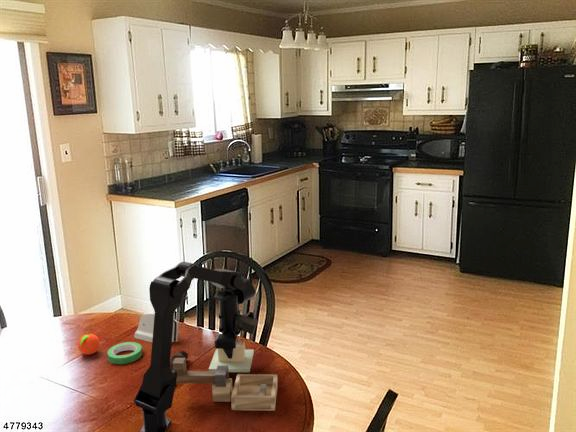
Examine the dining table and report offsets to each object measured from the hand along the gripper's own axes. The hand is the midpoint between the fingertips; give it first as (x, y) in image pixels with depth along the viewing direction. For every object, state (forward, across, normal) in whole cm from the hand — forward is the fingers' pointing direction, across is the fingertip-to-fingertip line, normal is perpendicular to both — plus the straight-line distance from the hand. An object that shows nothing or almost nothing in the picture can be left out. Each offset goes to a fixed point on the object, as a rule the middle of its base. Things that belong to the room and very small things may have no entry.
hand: (231, 355), depth 158 cm
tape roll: (+6, +10, +38) cm, 40 cm away
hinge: (+6, +24, +31) cm, 39 cm away
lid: (+2, 0, 0) cm, 2 cm away
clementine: (+6, +11, +51) cm, 52 cm away
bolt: (+6, +1, +18) cm, 20 cm away
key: (+1, -14, +8) cm, 16 cm away
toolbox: (+6, -14, -6) cm, 16 cm away
